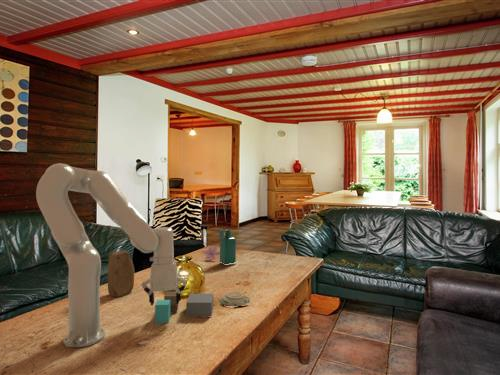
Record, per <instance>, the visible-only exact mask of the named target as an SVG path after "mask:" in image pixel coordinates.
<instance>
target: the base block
mask: <svg viewBox="0 0 500 375" xmlns="http://www.w3.org/2000/svg"><path fill="white" fill-rule="evenodd" d="M214 301H215V300H214V293H189V295H188V298H187V300H186V302H185V304H186V305H185V308H186V310H185V317H186V318H208V317H207V316H212V315H213V312H212V311H214V303H215V302H214ZM203 316H204V317H203ZM205 316H206V317H205Z"/></svg>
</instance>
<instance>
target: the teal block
mask: <svg viewBox="0 0 500 375" xmlns="http://www.w3.org/2000/svg"><path fill="white" fill-rule="evenodd" d="M170 319H171V313H170V300H164V299H157V300H156V302H155V303H154V324H168V323H170Z"/></svg>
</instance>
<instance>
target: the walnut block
mask: <svg viewBox="0 0 500 375" xmlns="http://www.w3.org/2000/svg"><path fill="white" fill-rule="evenodd" d="M176 293H177V292H176V291H166V292H165V294H164V296H163V300H170V314H177V313H178V310H179V304H176Z"/></svg>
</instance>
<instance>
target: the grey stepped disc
mask: <svg viewBox="0 0 500 375" xmlns="http://www.w3.org/2000/svg"><path fill="white" fill-rule="evenodd" d="M250 299H251V298H250V296H248V295H247V294H245V293H244V292H242V291H229V292H227V293H226V294H223V295H222V297H220V298H219V300H218V303H219V302H220V303H221V304H222V305H221V306H224V305H225V306H242V305H245V304H247V303H249V302H250ZM225 306H224V307H225Z"/></svg>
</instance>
